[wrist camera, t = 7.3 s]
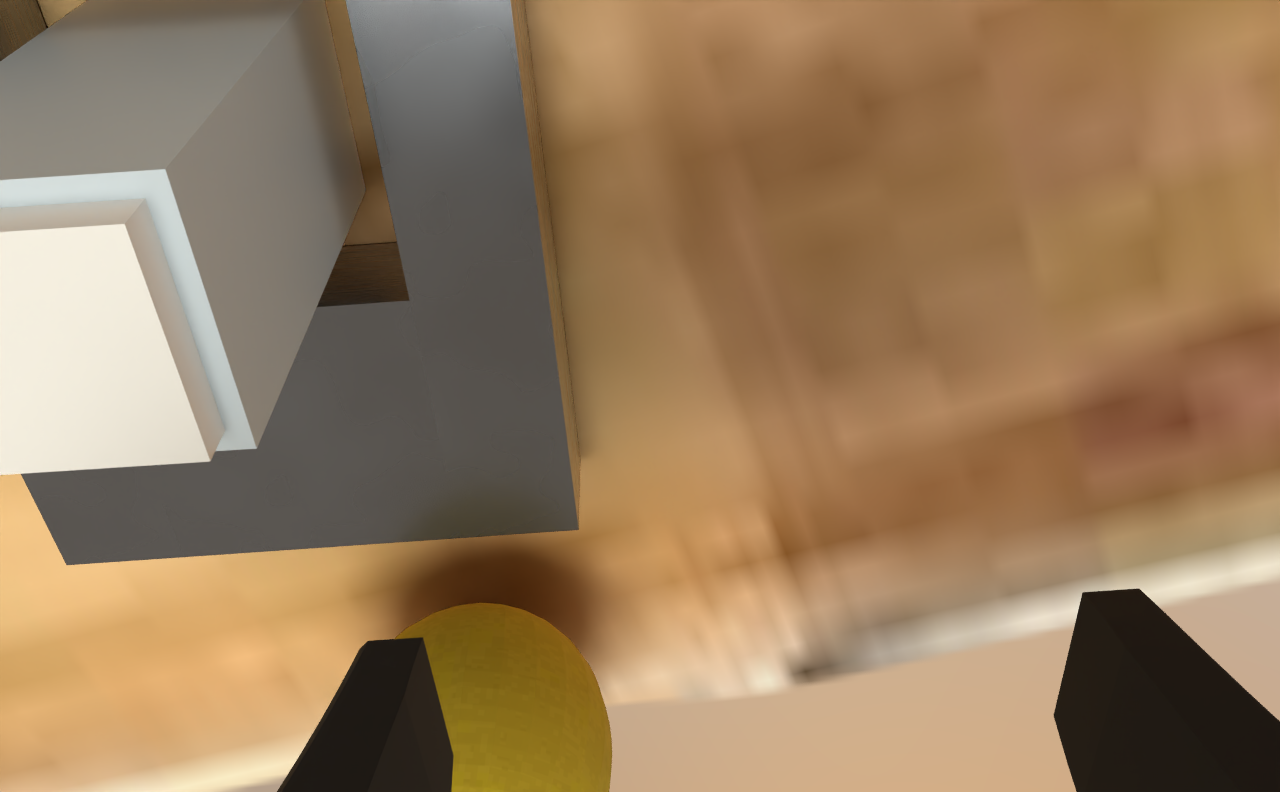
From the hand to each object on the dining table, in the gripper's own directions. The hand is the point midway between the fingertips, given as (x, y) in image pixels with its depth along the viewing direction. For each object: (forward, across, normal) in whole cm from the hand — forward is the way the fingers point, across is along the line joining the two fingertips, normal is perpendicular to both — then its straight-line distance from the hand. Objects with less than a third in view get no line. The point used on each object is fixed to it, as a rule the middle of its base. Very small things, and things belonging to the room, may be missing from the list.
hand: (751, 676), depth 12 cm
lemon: (+10, +5, +9) cm, 14 cm away
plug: (+10, +8, -4) cm, 13 cm away
